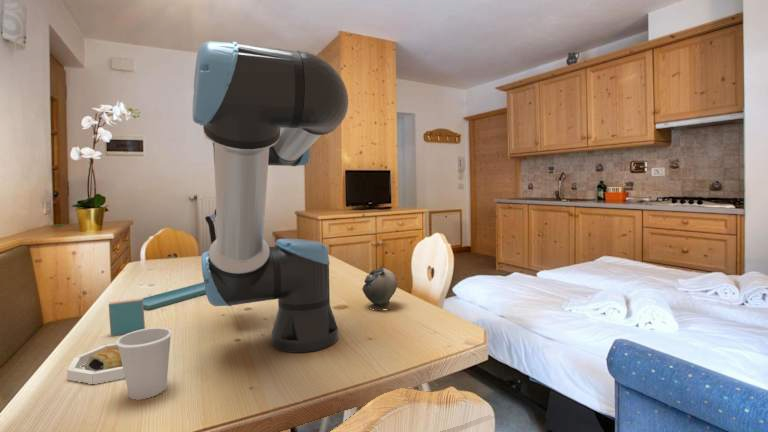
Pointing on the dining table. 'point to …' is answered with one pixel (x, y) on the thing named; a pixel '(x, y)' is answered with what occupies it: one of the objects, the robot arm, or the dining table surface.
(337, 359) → the dining table surface
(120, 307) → the tile
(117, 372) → the dish rim
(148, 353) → the dixie cup
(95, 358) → the pastry
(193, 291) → the teal serving tray
